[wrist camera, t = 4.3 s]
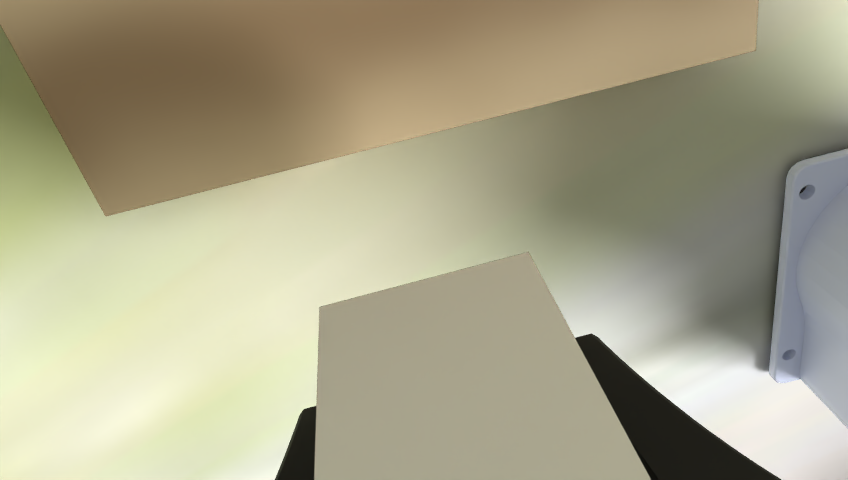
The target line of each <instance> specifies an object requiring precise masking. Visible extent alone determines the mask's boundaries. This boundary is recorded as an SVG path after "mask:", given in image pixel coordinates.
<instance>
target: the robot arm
mask: <svg viewBox="0 0 848 480" xmlns="http://www.w3.org/2000/svg"><path fill="white" fill-rule="evenodd" d="M805 186H807V187H806V189H805V190H804V191H803V192H802V193H800V190H801V189H802V188H803V187H805ZM799 193H800V194H799ZM575 339H576V341H577V343H578V345H579V347H580V349H581V350H582V352H583V354H584V356H585V358H586V360H587V362H588V363H589V365H590V367H591V369H592V371H593V373H594V375H595V376H596V378H597V380H598V382H599V384H600V386H601V388H602V389H603V391H604V393H605V395H606V397H607V399H608V401H609V402H610V404H611V406H612V408H613V410H614V412H615V414H616V415H617V417H618V419H619V421H620V423H621V425H622V427H623V428H624V430H625V432H626V434H627V436H628V438H629V440H630V441H631V443H632V445H633V447H634V449H635V451H636V453H637V455H638V456H639V458H640V460H641V462H642V464H643V466H644V468H645V469H646V471H647V473H648V475H649V477H650V479H651V480H781V479H780V478H778V477H776V476H775V475H773V474H772V473H770V472H768V471H767V470H765V469H764V468H762V467H761V466H759V465H758V464H756V463H755V462H753V461H752V460H750V459H749V458H747V457H746V456H744V455H743V454H741V453H740V452H738V451H737V450H735V449H734V448H732V447H731V446H730V445H728V444H727V443H725V442H724V441H723V440H721V439H720V438H718V437H717V436H716V435H714V434H713V433H711V432H710V431H709V430H707V429H706V428H705V427H703V426H702V425H701V424H699V423H698V422H697V421H695V420H694V419H692V418H691V417H690V416H689V415H687V414H686V413H685V412H684V411H682V410H681V409H680V408H678V407H677V406H676V405H675V404H673V403H672V402H671V401H670V400H668V399H667V398H666V397H665V396H663V395H662V394H661V393H660V392H658V391H657V390H656V389H655V388H654V387H652V386H651V385H650V384H649V383H648V382H646V381H645V380H644V379H643V378H642V377H641V376H639V375H638V374H637V373H636V372H635V371H634V370H633V369H631V368H630V367H629V366H628V365H627V364H626V363H625V362H624V361H622V360H621V359H620V358H619V357H618V356H617V355H616V354H615V353H614V352H613V351H612V350H611V349H610V348H608V347H607V346H606V345H605V344H604V343H603V342H602V341H601V340H600V339H599V338H598V337H597V336H595V335H593V334H588V335H584V336H580V337H577V338H575ZM769 374H770V376H771V377H772V378H773V379H774V380H775V381H776V382H778V383H786V382H790V381H794V380H798V379H801V380H802V381H803V382H804V383H805V384H806V385H807V386H808V387H809V388H810V389H811V390H812V391H813V393H814V394H815V395H816V396H817V397H818V398H819V399H820V400H821V401H822V402H823V403H824V404H825V405H826V406H827V407H828V408H829V409H830V410H831V411H832V412H833V414H834V415H835V416H836V417H837V418H838V419H839V420H840V421H841V422H842V423H843V424H844V425H845V426H846V427H847V428H848V149H844V150H840V151H836V152H832V153H829V154H825V155H821V156H817V157H813V158H809V159H805V160H802V161H800V162H797V163H796V164H795V165H794V166H792V167H791V169H790V170H789V172H788V174H787V178H786V189H785V200H784V211H783V222H782V233H781V244H780V255H779V266H778V277H777V288H776V299H775V310H774V321H773V332H772V343H771V354H770V365H769ZM315 437H316V406H314V407H310V408H307V409H304V410H303V411H302V413H301V414H300V416H299V419H298V421H297V424H296V427H295V430H294V432H293V435H292V438H291V440H290V443H289V446H288V448H287V451H286V454H285V456H284V459H283V461H282V464H281V466H280V469H279V471H278V473H277V476H276V478H275V480H314V469H315Z"/></svg>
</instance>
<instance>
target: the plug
mask: <svg viewBox="0 0 848 480" xmlns="http://www.w3.org/2000/svg"><path fill="white" fill-rule="evenodd" d="M314 480H651V479H650V477H649V475H648V473H647V471H646V469H645V468H644V466H643V464H642V462H641V460H640V458H639V456H638V455H637V453H636V451H635V449H634V447H633V445H632V443H631V441H630V440H629V438H628V436H627V434H626V432H625V430H624V428H623V427H622V425H621V423H620V421H619V419H618V417H617V415H616V414H615V412H614V410H613V408H612V406H611V404H610V402H609V401H608V399H607V397H606V395H605V393H604V391H603V389H602V388H601V386H600V384H599V382H598V380H597V378H596V376H595V375H594V373H593V371H592V369H591V367H590V365H589V363H588V362H587V360H586V358H585V356H584V354H583V352H582V350H581V349H580V347H579V345H578V343H577V341H576V339H575V337H574V336H573V334H572V332H571V330H570V328H569V326H568V324H567V323H566V321H565V319H564V317H563V315H562V313H561V311H560V310H559V308H558V306H557V304H556V302H555V300H554V298H553V297H552V295H551V293H550V291H549V289H548V287H547V285H546V284H545V282H544V280H543V278H542V276H541V274H540V272H539V271H538V269H537V267H536V265H535V263H534V261H533V259H532V258H531V256H530V254H529V252H526V253H522V254H518V255H514V256H511V257H507V258H503V259H499V260H495V261H492V262H488V263H484V264H480V265H476V266H473V267H469V268H465V269H461V270H457V271H454V272H450V273H446V274H442V275H439V276H435V277H431V278H427V279H423V280H420V281H416V282H412V283H408V284H404V285H401V286H397V287H393V288H389V289H385V290H382V291H378V292H374V293H370V294H367V295H363V296H359V297H355V298H351V299H348V300H344V301H340V302H336V303H332V304H329V305H325V306H321V307H319V340H318V372H317V405H316V437H315V469H314Z"/></svg>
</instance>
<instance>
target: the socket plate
mask: <svg viewBox="0 0 848 480" xmlns="http://www.w3.org/2000/svg"><path fill="white" fill-rule="evenodd" d="M758 1H759V0H0V25H1V27H2V29H3V31H4V32H5V34H6V36H7V38H8V40H9V41H10V43H11V45H12V47H13V49H14V51H15V52H16V54H17V56H18V58H19V60H20V61H21V63H22V65H23V67H24V69H25V71H26V72H27V74H28V76H29V78H30V80H31V82H32V83H33V85H34V87H35V89H36V91H37V92H38V94H39V96H40V98H41V100H42V102H43V103H44V105H45V107H46V109H47V111H48V112H49V114H50V116H51V118H52V120H53V122H54V123H55V125H56V127H57V129H58V131H59V133H60V134H61V136H62V138H63V140H64V142H65V143H66V145H67V147H68V149H69V151H70V153H71V154H72V156H73V158H74V160H75V162H76V163H77V165H78V167H79V169H80V171H81V173H82V174H83V176H84V178H85V180H86V182H87V184H88V185H89V187H90V189H91V191H92V193H93V194H94V196H95V198H96V200H97V202H98V204H99V205H100V207H101V209H102V211H103V213H104V214H105V216H109V215H113V214H117V213H121V212H125V211H129V210H133V209H137V208H141V207H145V206H149V205H152V204H156V203H160V202H164V201H168V200H172V199H176V198H180V197H184V196H188V195H192V194H196V193H200V192H204V191H207V190H211V189H215V188H219V187H223V186H227V185H231V184H235V183H239V182H243V181H247V180H251V179H255V178H258V177H262V176H266V175H270V174H274V173H278V172H282V171H286V170H290V169H294V168H298V167H302V166H306V165H309V164H313V163H317V162H321V161H325V160H329V159H333V158H337V157H341V156H345V155H349V154H353V153H357V152H360V151H364V150H368V149H372V148H376V147H380V146H384V145H388V144H392V143H396V142H400V141H404V140H408V139H412V138H415V137H419V136H423V135H427V134H431V133H435V132H439V131H443V130H447V129H451V128H455V127H459V126H463V125H466V124H470V123H474V122H478V121H482V120H486V119H490V118H494V117H498V116H502V115H506V114H510V113H514V112H517V111H521V110H525V109H529V108H533V107H537V106H541V105H545V104H549V103H553V102H557V101H561V100H565V99H568V98H572V97H576V96H580V95H584V94H588V93H592V92H596V91H600V90H604V89H608V88H612V87H616V86H619V85H623V84H627V83H631V82H635V81H639V80H643V79H647V78H651V77H655V76H659V75H663V74H667V73H671V72H674V71H678V70H682V69H686V68H690V67H694V66H698V65H702V64H706V63H710V62H714V61H718V60H722V59H725V58H729V57H733V56H737V55H741V54H745V53H749V52H753V51H756V36H757V19H758Z"/></svg>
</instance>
